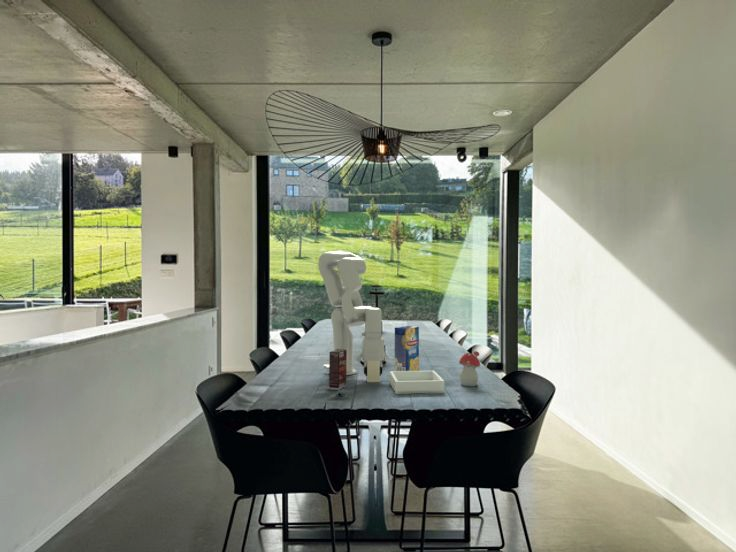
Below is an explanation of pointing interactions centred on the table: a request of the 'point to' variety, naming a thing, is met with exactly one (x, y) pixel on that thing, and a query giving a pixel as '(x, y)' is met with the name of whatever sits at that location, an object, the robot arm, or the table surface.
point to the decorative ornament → (469, 369)
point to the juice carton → (373, 371)
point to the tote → (416, 382)
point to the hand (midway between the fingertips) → (373, 375)
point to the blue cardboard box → (407, 348)
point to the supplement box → (337, 369)
